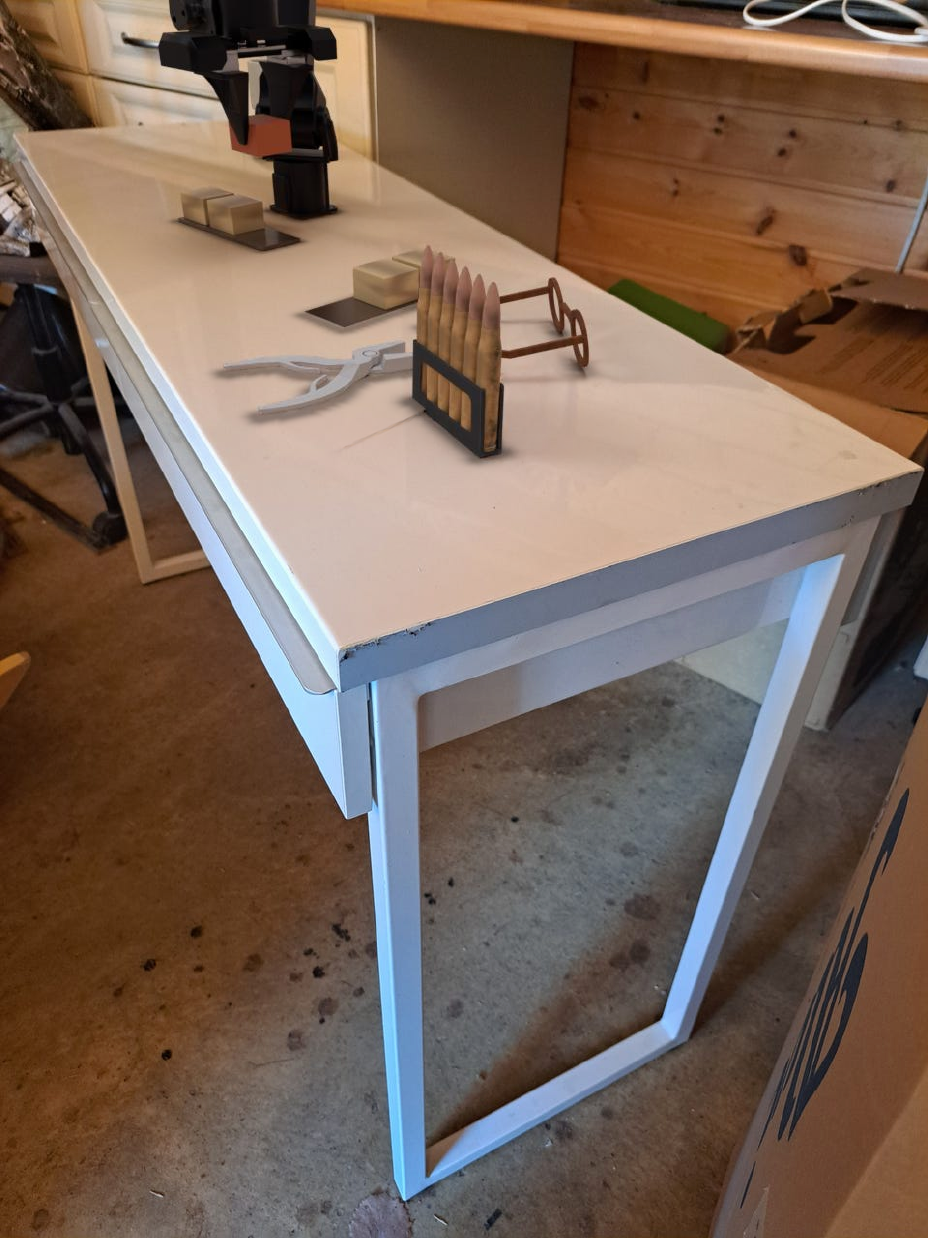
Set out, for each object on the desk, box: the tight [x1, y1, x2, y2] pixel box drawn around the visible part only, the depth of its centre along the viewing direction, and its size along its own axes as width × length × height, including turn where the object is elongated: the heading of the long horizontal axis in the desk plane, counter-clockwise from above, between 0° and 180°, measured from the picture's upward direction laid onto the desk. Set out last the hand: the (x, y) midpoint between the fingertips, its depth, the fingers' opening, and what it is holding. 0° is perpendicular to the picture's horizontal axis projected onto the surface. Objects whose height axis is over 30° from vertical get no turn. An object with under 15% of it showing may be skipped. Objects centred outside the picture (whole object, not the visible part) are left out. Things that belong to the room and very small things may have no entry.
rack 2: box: [304, 247, 456, 328], centre depth 86 cm, size 16×6×3 cm, turn 139°
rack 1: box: [177, 185, 301, 252], centre depth 104 cm, size 16×6×3 cm, turn 49°
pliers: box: [222, 339, 413, 415], centre depth 72 cm, size 10×2×15 cm
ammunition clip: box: [411, 244, 505, 459], centre depth 63 cm, size 11×2×12 cm, turn 30°
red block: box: [227, 114, 292, 158], centre depth 94 cm, size 5×5×3 cm
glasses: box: [499, 276, 590, 368], centre depth 77 cm, size 13×13×5 cm
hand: (261, 141), depth 95 cm, fingers closed on red block, 4 cm apart
